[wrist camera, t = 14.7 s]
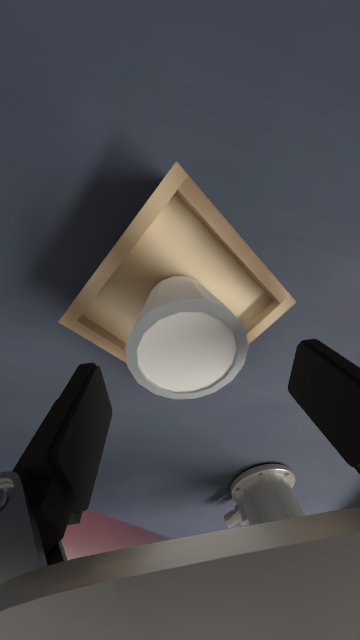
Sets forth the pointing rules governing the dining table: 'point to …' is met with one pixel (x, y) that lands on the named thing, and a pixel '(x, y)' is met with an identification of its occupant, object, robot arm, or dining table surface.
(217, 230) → the birch tray
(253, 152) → the dining table surface
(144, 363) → the shot glass
